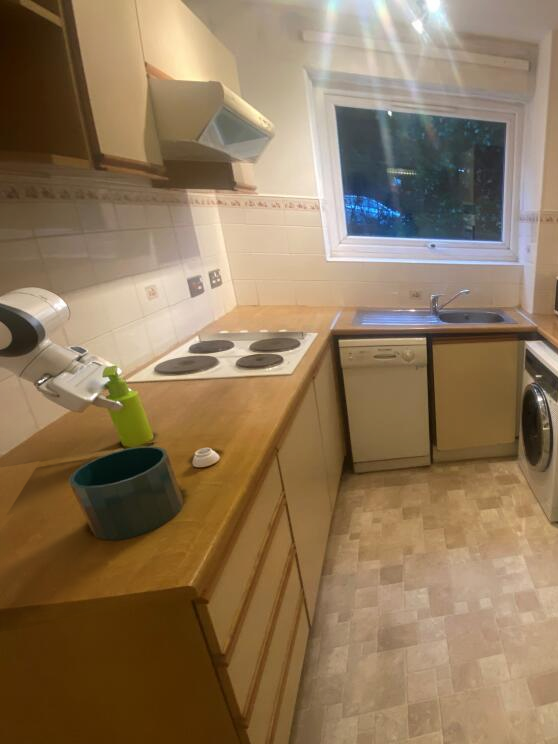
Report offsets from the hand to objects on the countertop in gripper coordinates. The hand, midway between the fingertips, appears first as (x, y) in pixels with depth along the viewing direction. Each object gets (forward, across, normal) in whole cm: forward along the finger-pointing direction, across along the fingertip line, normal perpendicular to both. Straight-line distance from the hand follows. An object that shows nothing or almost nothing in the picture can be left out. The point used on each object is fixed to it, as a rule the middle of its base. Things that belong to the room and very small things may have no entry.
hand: (127, 401), depth 100 cm
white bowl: (+19, -15, -3) cm, 25 cm away
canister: (+13, -31, +3) cm, 34 cm away
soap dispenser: (+8, 0, +9) cm, 12 cm away
